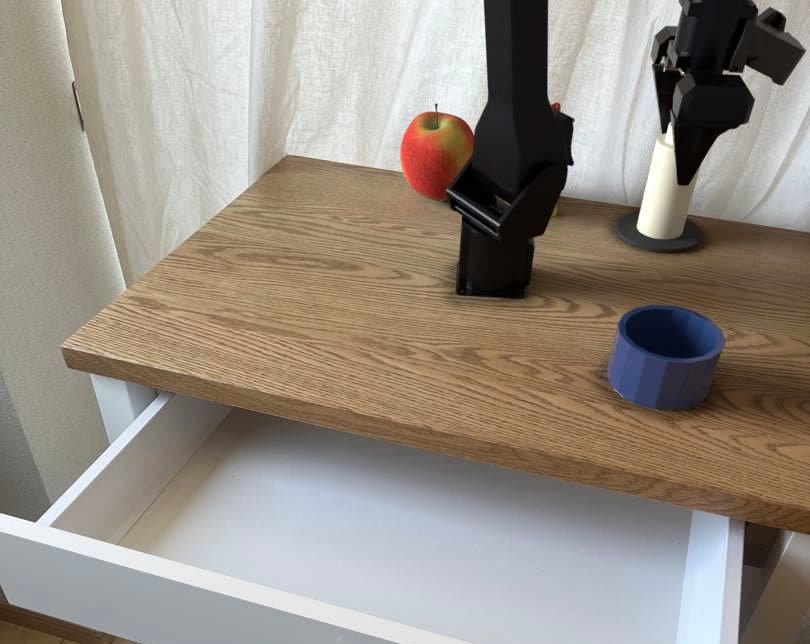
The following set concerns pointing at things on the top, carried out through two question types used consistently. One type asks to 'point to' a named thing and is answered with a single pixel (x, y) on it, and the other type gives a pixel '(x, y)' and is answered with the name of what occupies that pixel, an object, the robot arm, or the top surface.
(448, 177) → the apple
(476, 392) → the top surface
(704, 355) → the cup
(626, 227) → the coaster
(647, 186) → the cream cylinder
